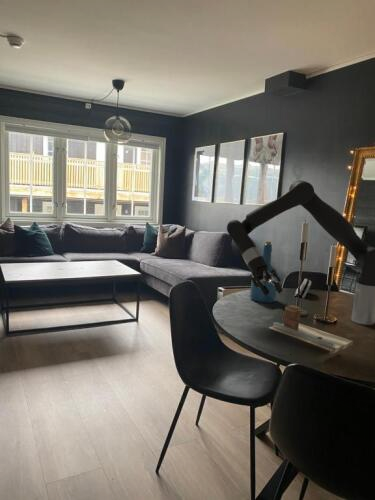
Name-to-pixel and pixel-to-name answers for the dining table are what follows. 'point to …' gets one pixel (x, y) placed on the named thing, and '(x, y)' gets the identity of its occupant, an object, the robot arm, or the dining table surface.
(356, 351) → the dining table surface
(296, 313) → the brown squarish block
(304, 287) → the hinge
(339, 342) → the board
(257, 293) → the wine bottle
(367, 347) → the dining table surface
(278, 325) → the rail
